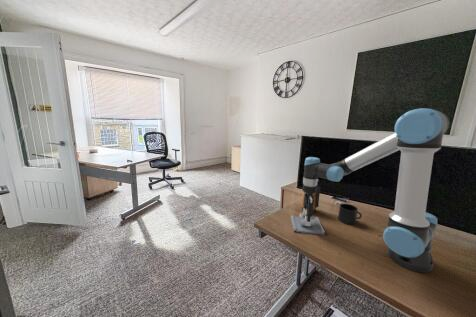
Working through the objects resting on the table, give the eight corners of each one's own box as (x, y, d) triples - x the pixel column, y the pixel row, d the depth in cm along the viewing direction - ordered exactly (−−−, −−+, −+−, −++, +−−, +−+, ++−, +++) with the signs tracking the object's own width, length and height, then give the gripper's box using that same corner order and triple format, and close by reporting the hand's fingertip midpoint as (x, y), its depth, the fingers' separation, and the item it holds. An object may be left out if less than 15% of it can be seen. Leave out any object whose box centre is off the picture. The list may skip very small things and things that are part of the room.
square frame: (313, 226, 108) (314, 220, 107) (300, 225, 109) (301, 218, 108) (311, 220, 114) (311, 213, 113) (299, 218, 115) (299, 212, 115)
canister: (305, 206, 137) (308, 179, 133) (321, 211, 129) (323, 183, 125) (299, 209, 131) (301, 182, 127) (314, 215, 123) (317, 186, 119)
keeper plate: (324, 234, 103) (326, 220, 101) (293, 231, 105) (294, 217, 103) (317, 219, 118) (318, 206, 116) (290, 217, 121) (291, 204, 119)
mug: (361, 227, 111) (364, 212, 109) (338, 222, 115) (340, 208, 114) (359, 219, 119) (361, 206, 117) (337, 215, 124) (339, 202, 122)
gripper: (321, 191, 96) (317, 232, 101) (313, 179, 116) (309, 214, 120) (306, 190, 98) (302, 231, 102) (300, 178, 117) (297, 213, 122)
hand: (306, 222), depth 111 cm, fingers closed on square frame, 7 cm apart
